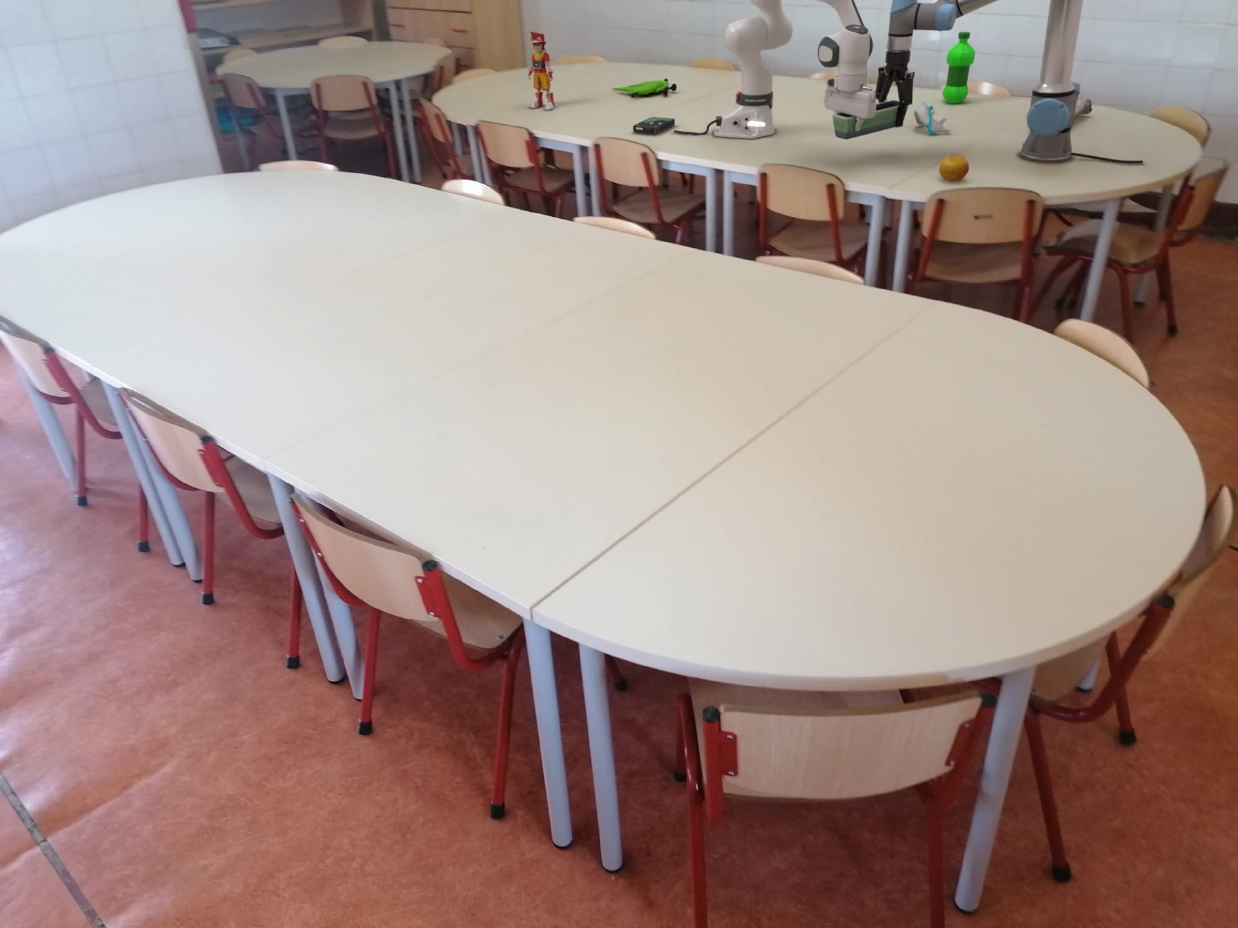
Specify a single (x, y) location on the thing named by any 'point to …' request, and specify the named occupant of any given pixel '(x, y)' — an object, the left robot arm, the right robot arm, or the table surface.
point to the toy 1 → (541, 71)
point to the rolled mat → (1082, 107)
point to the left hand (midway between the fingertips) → (847, 128)
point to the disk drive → (653, 125)
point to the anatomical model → (929, 119)
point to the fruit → (954, 168)
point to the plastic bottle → (958, 69)
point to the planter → (867, 121)
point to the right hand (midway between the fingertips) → (890, 124)
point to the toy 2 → (648, 88)
